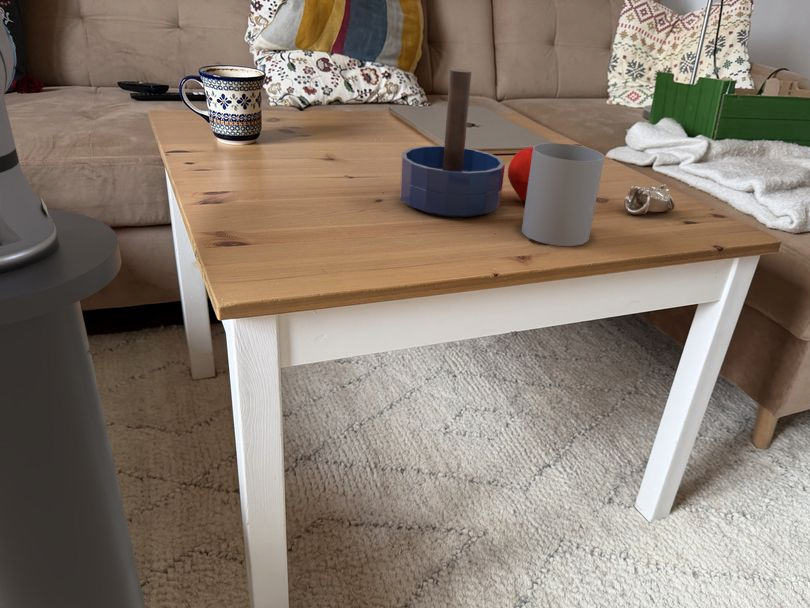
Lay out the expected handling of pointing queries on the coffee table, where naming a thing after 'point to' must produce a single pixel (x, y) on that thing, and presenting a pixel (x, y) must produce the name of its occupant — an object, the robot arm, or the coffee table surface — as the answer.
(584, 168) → the cup
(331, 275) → the coffee table surface
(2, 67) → the robot arm
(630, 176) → the coffee table surface
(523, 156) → the apple
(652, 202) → the ornament
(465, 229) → the coffee table surface
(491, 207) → the bowl
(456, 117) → the cylinder with round base
